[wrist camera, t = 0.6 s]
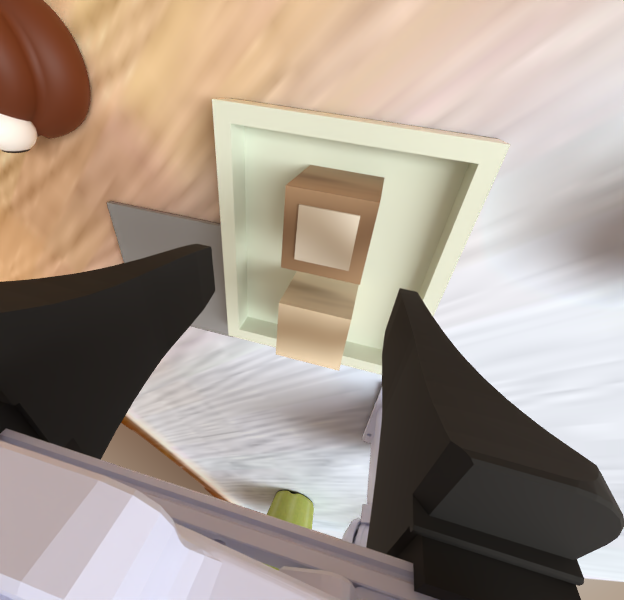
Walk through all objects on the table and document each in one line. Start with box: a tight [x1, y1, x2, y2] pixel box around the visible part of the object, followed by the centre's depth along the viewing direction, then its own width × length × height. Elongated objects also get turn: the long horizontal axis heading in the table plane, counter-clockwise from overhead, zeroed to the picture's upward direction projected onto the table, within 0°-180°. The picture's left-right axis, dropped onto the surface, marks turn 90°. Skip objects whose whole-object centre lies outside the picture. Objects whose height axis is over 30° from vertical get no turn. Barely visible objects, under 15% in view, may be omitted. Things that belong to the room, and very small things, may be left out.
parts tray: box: [212, 98, 510, 375], centre depth 21 cm, size 17×15×2 cm
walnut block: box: [281, 165, 384, 285], centre depth 17 cm, size 4×4×5 cm
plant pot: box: [263, 490, 314, 571], centre depth 43 cm, size 9×9×9 cm
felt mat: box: [107, 201, 233, 337], centre depth 26 cm, size 11×10×1 cm
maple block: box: [276, 271, 359, 371], centre depth 21 cm, size 4×4×5 cm
